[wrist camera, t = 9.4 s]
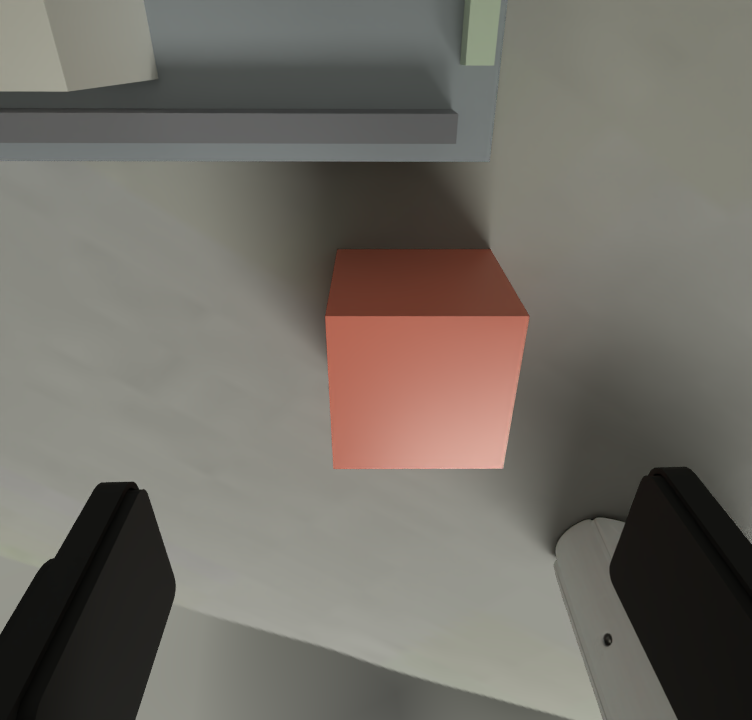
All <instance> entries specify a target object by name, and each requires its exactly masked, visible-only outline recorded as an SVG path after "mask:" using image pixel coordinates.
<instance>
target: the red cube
mask: <svg viewBox="0 0 752 720" xmlns="http://www.w3.org/2000/svg"><path fill="white" fill-rule="evenodd" d="M325 322H326V340H327V358H328V377H329V395H330V413H331V432H332V450H333V468H334V469H503V466H504V460H505V454H506V448H507V443H508V437H509V431H510V425H511V420H512V414H513V408H514V402H515V397H516V391H517V385H518V379H519V374H520V368H521V362H522V356H523V351H524V345H525V339H526V333H527V328H528V322H529V315H528V313H527V311H526V309H525V308H524V306H523V304H522V303H521V301H520V299H519V297H518V296H517V294H516V292H515V291H514V289H513V287H512V285H511V284H510V282H509V280H508V279H507V277H506V275H505V273H504V272H503V270H502V268H501V267H500V265H499V263H498V261H497V260H496V258H495V256H494V255H493V253H492V251H491V249H337V254H336V259H335V265H334V270H333V276H332V281H331V287H330V292H329V298H328V303H327V309H326V315H325Z"/></svg>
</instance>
